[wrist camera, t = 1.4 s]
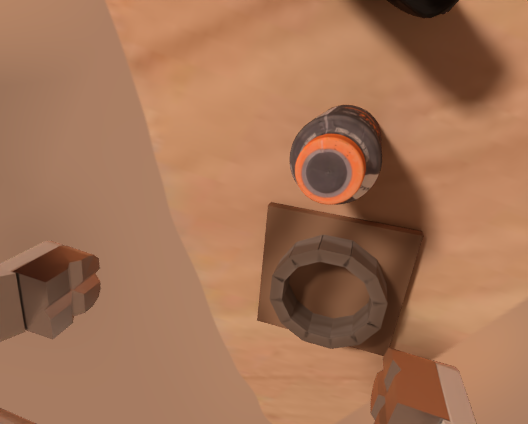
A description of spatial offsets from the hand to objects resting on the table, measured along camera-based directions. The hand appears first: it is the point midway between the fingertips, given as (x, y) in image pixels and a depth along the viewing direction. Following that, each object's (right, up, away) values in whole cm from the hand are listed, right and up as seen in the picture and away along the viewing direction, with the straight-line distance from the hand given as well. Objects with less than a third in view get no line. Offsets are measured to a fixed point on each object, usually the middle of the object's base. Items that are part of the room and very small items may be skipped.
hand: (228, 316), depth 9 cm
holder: (+8, -4, +26) cm, 27 cm away
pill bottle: (+8, +9, +20) cm, 24 cm away
